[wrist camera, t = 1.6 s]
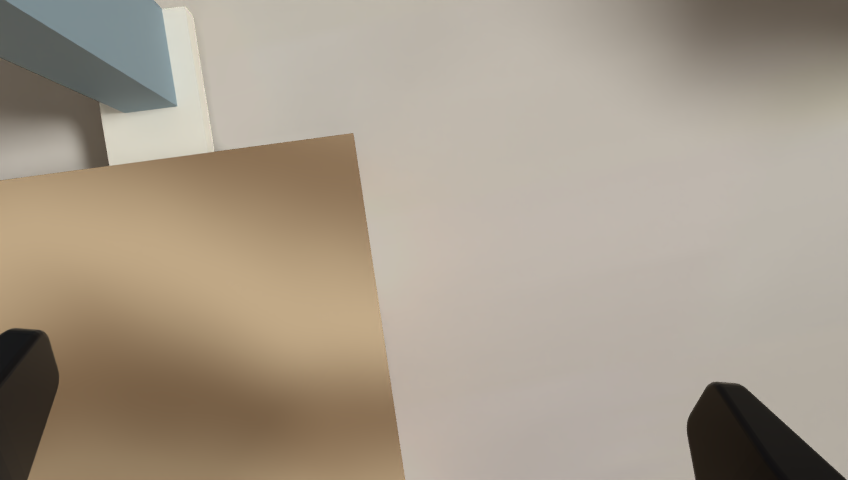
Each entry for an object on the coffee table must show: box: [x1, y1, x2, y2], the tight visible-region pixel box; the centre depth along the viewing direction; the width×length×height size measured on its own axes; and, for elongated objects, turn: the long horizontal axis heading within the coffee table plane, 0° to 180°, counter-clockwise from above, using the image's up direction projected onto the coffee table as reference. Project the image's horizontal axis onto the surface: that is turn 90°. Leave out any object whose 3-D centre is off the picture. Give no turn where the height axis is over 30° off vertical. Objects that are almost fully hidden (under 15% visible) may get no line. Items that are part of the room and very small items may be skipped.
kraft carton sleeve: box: [0, 133, 405, 480], centre depth 20 cm, size 13×12×5 cm
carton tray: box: [0, 0, 215, 166], centre depth 16 cm, size 17×10×11 cm, turn 8°
